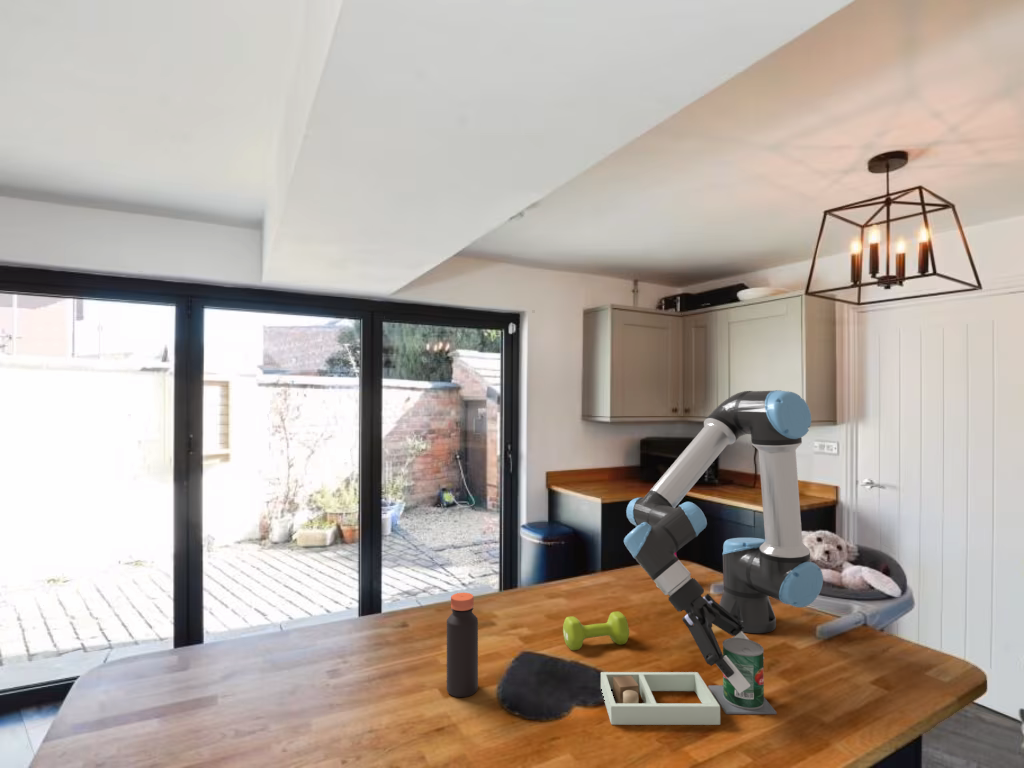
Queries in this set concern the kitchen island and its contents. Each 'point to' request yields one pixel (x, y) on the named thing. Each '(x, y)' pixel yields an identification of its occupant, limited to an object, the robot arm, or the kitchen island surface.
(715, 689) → the slate coaster
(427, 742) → the kitchen island surface
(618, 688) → the walnut block
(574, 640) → the dumbbell
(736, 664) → the canned tomato
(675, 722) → the caddy
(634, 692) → the beech dowel
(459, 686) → the bottle
